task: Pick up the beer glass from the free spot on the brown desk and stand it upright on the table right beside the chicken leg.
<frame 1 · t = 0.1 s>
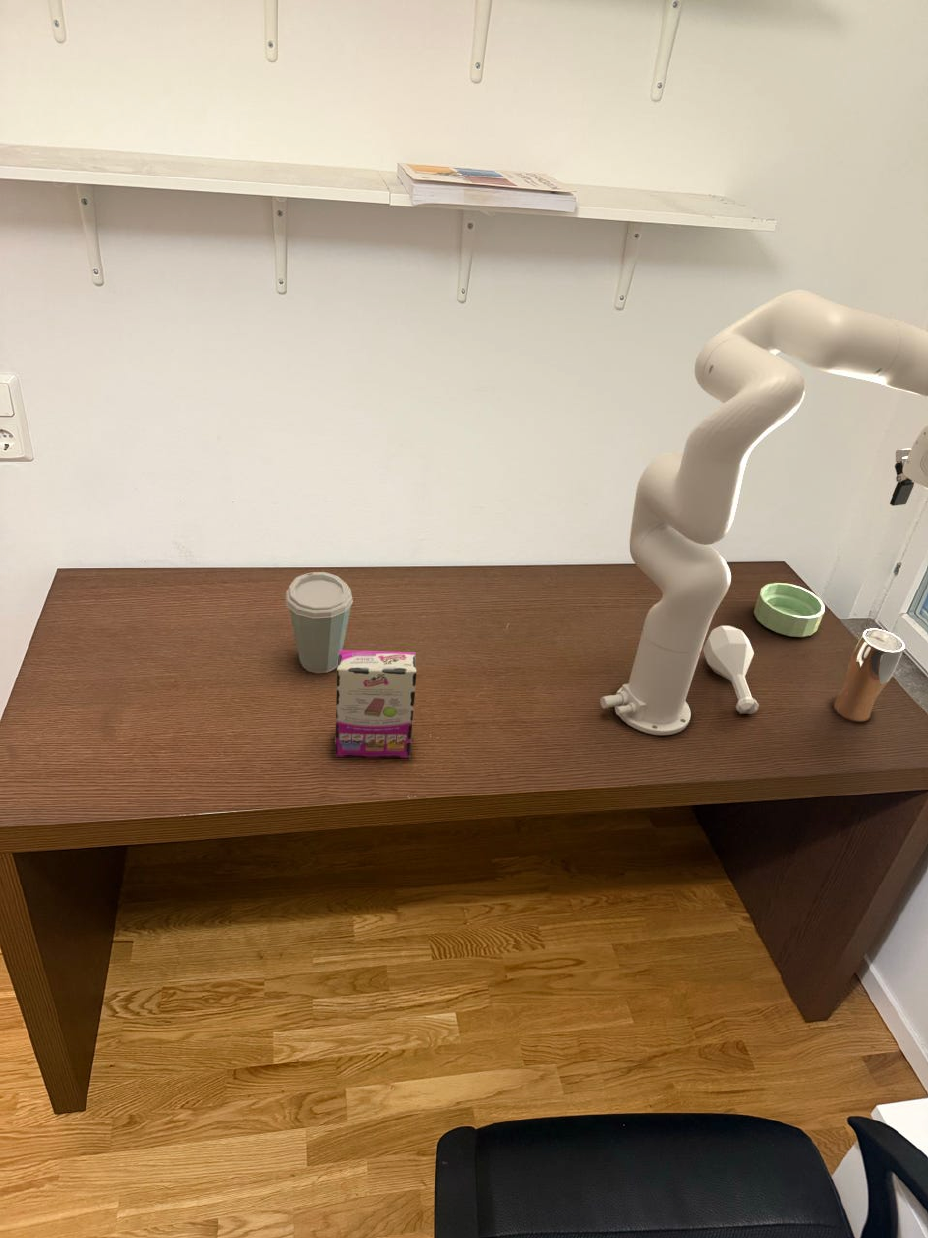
hand: (919, 517, 150), 31 cm above the table, tool pointing down, fingers open, 9 cm apart
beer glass: (851, 711, 157), on the table
candy bar box: (371, 748, 136), on the table
sage bowl: (784, 621, 179), on the table
chicken leg: (730, 686, 159), on the table
disposable coffee cup: (318, 663, 152), on the table
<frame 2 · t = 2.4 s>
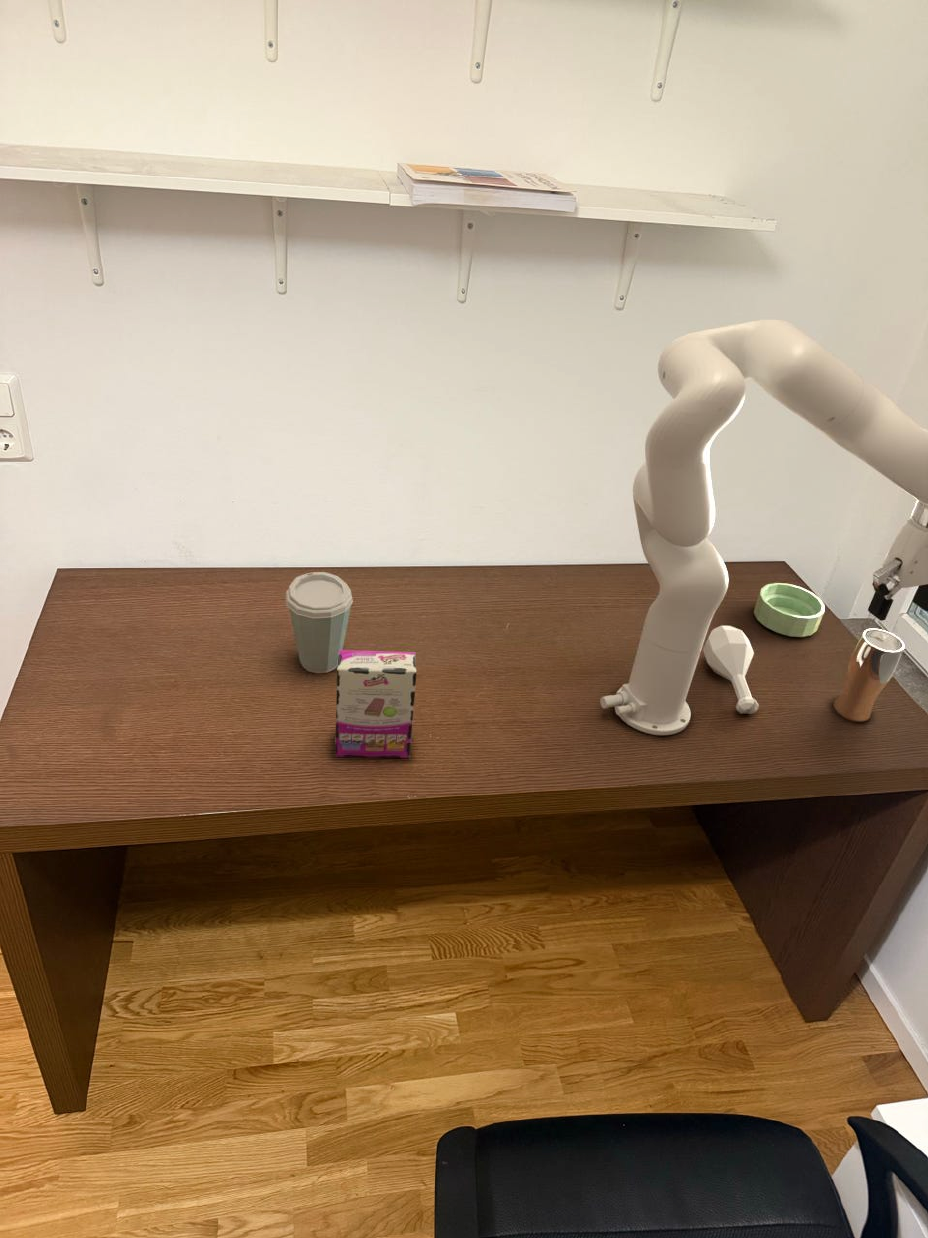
hand: (898, 611, 145), 21 cm above the table, tool pointing down, fingers open, 9 cm apart
nothing on the table moved.
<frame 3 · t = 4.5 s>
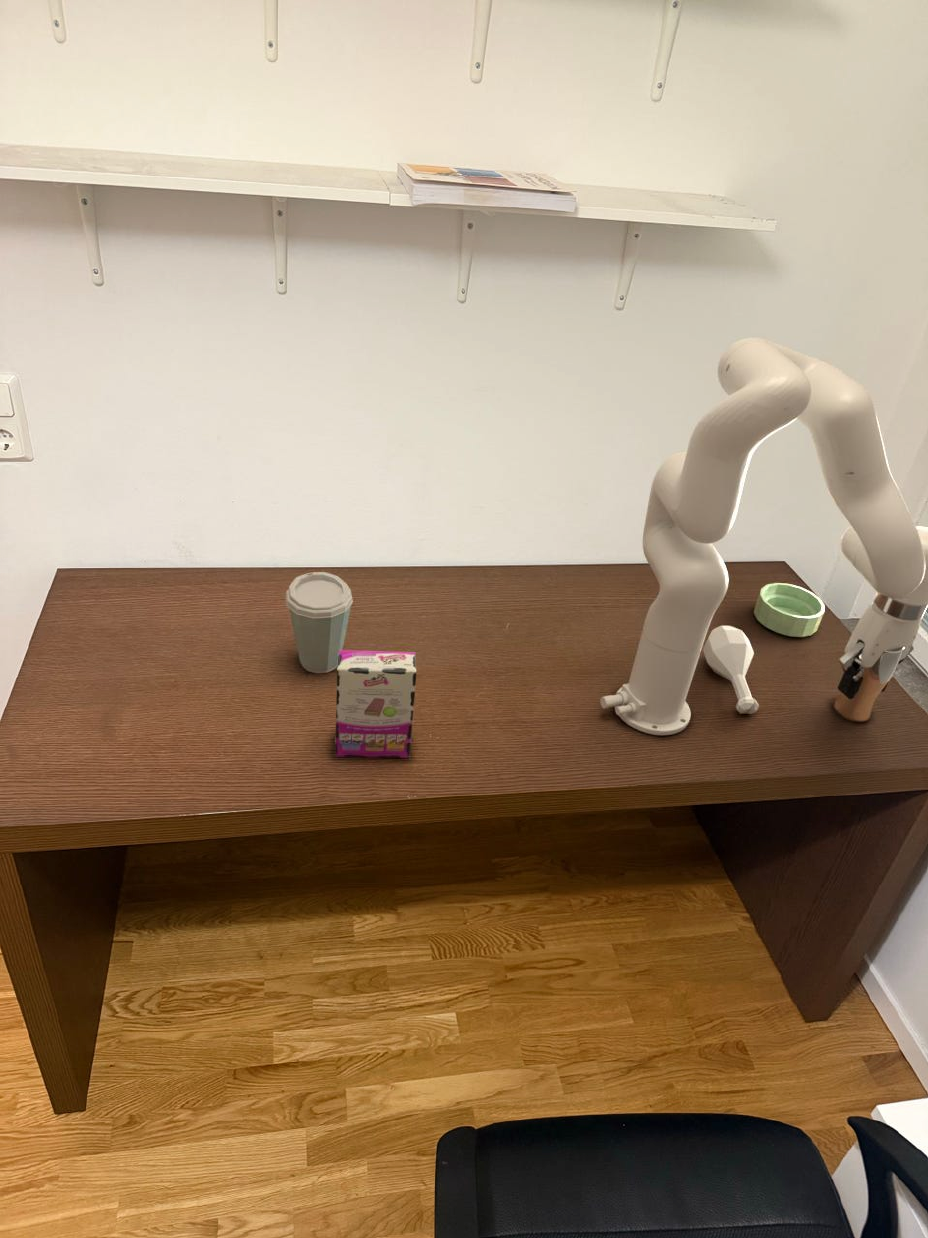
hand: (860, 689, 154), 5 cm above the table, tool pointing down, fingers closed on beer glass, 6 cm apart
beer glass: (851, 711, 157), on the table, touching gripper
everything else where it was.
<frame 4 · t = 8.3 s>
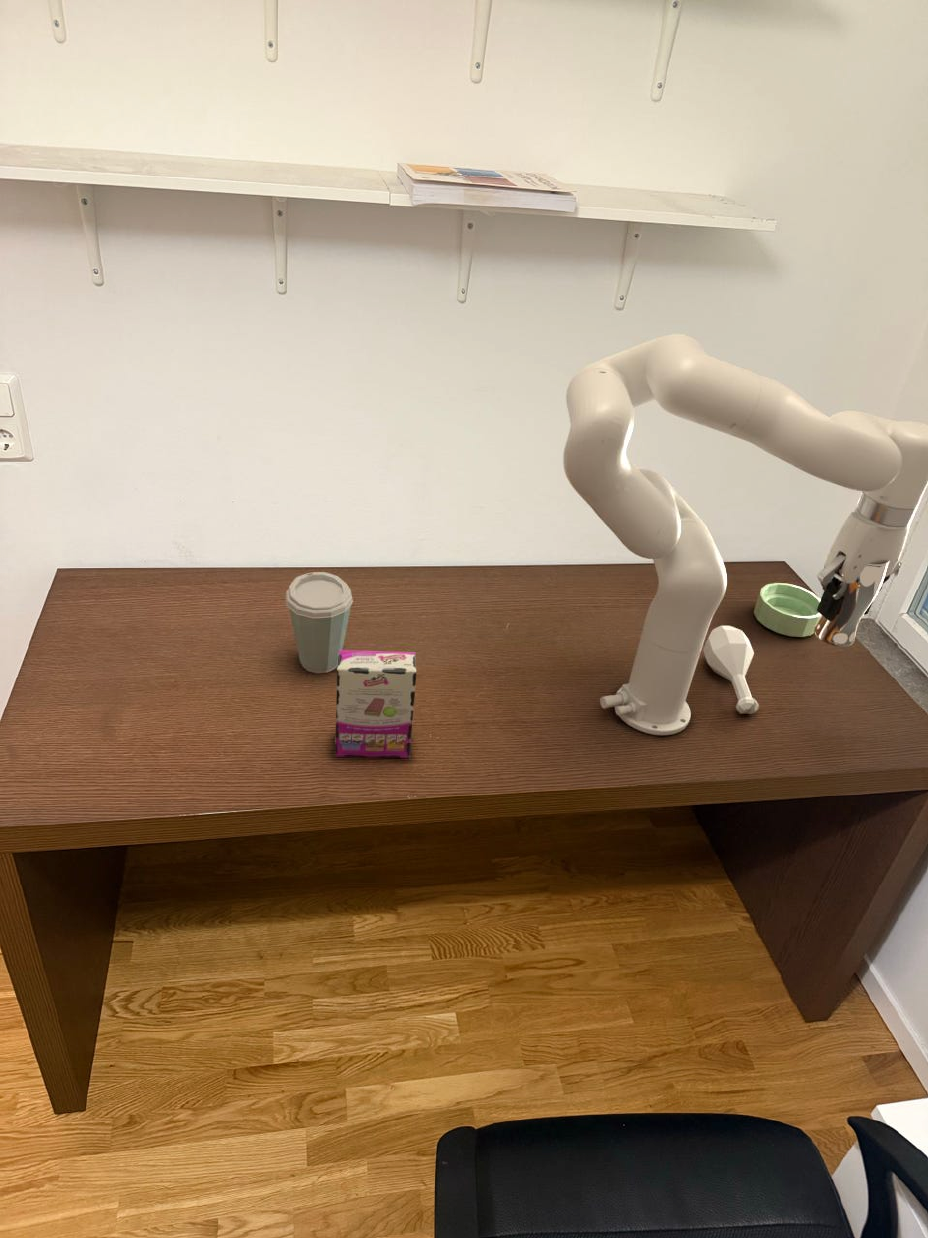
hand: (842, 612, 139), 23 cm above the table, tool pointing down, fingers closed on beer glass, 6 cm apart
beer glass: (833, 636, 142), point 18 cm above the table, touching gripper
everything else where it was.
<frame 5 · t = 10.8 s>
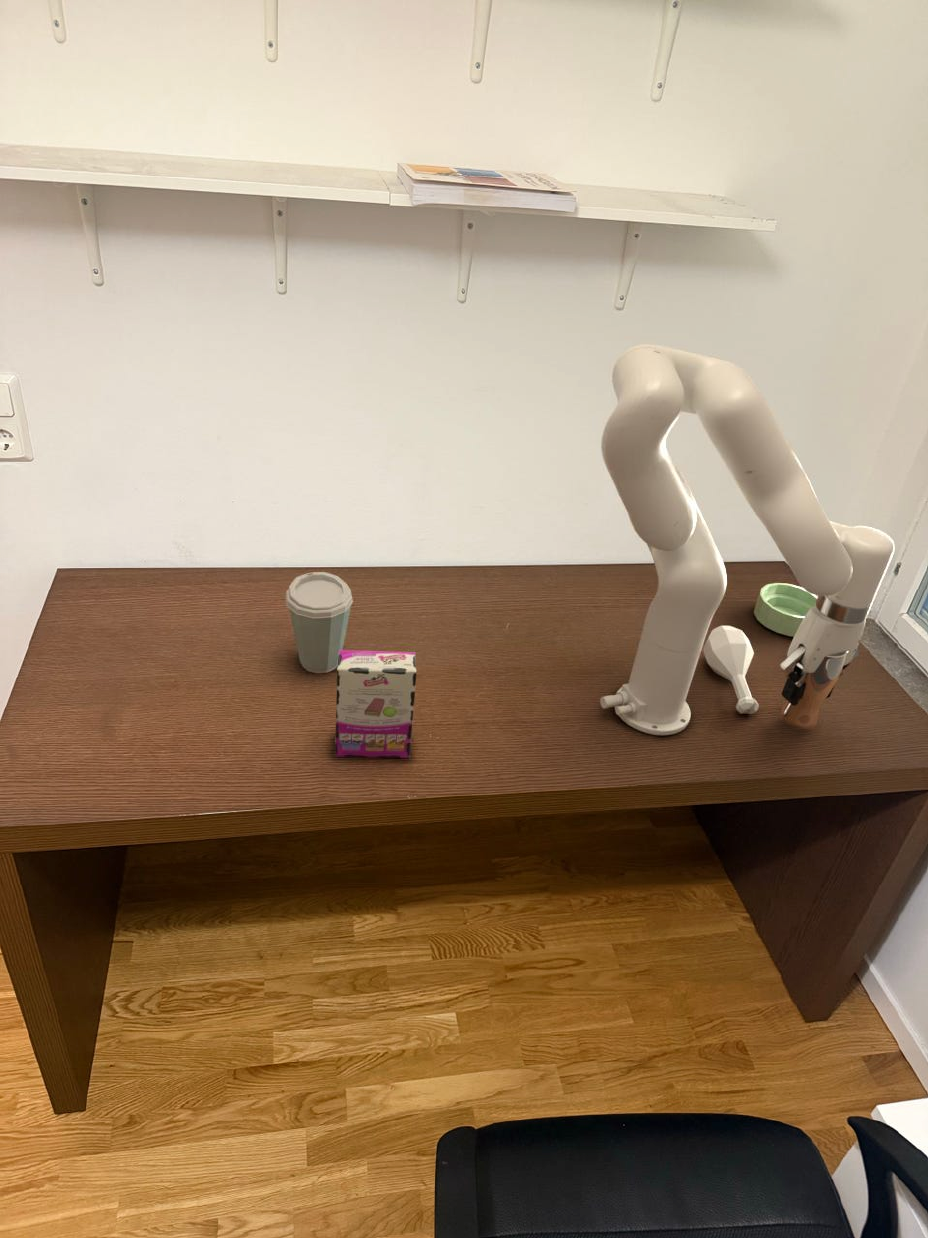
hand: (805, 695, 148), 6 cm above the table, tool pointing down, fingers closed on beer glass, 6 cm apart
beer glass: (798, 717, 151), point 1 cm above the table, touching gripper
everything else where it was.
when the fingers open (5 cm above the table, at t = 11.9 s): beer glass stays where it is, on the table.
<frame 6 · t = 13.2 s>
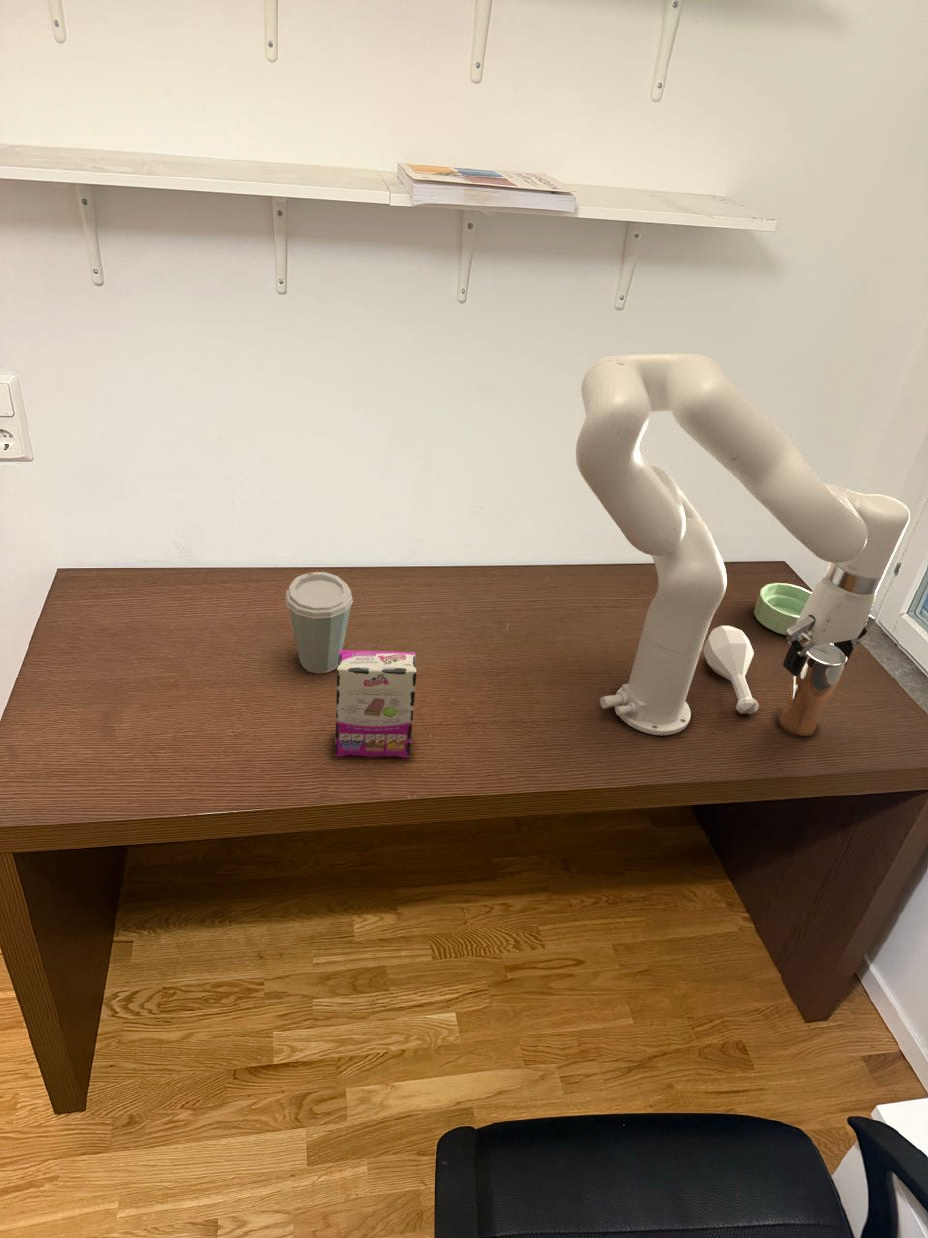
hand: (813, 666, 145), 12 cm above the table, tool pointing down, fingers open, 9 cm apart
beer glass: (796, 725, 152), on the table, touching gripper
everything else where it was.
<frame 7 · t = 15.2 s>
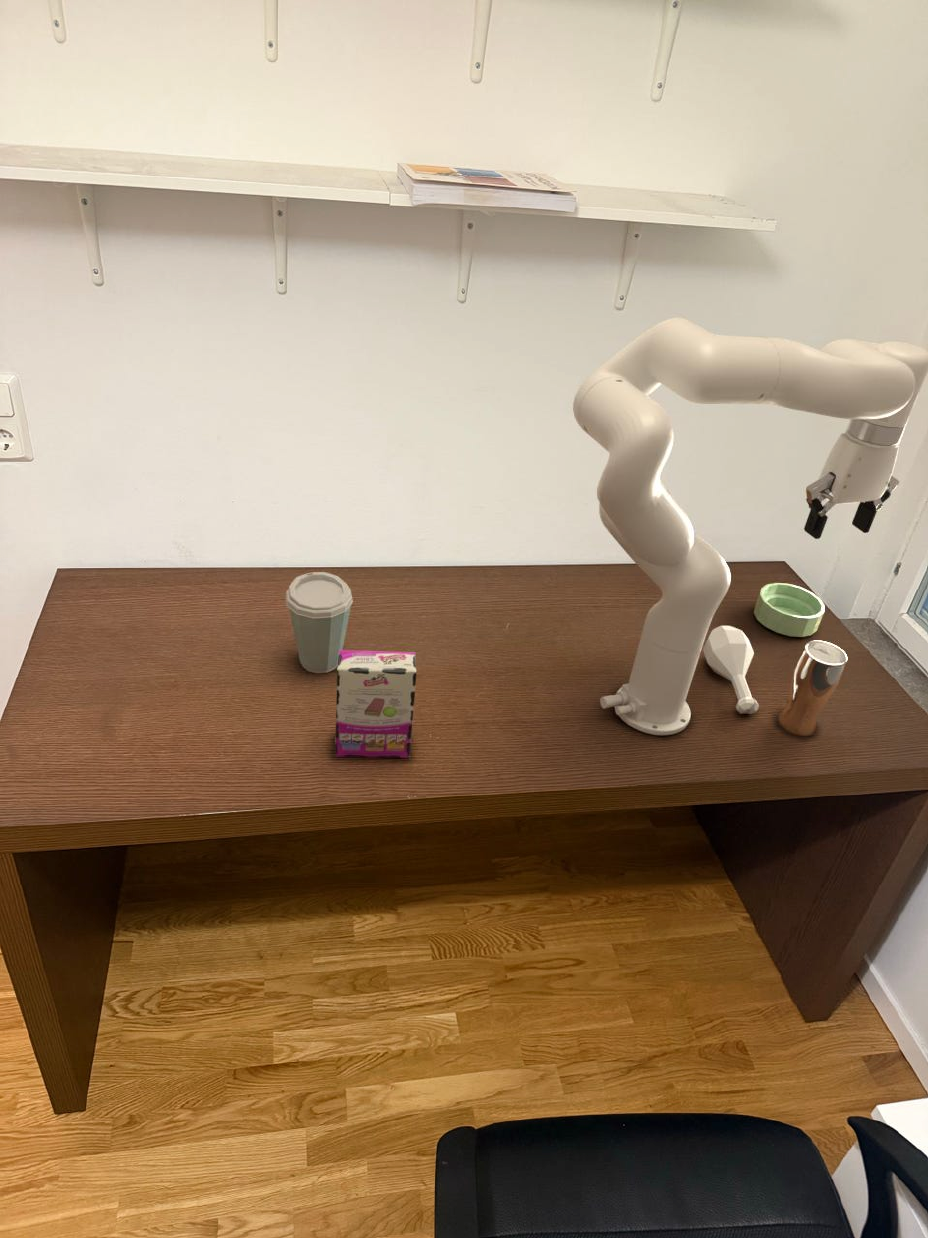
hand: (835, 531, 143), 31 cm above the table, tool pointing down, fingers open, 9 cm apart
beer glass: (796, 725, 152), on the table
everything else where it was.
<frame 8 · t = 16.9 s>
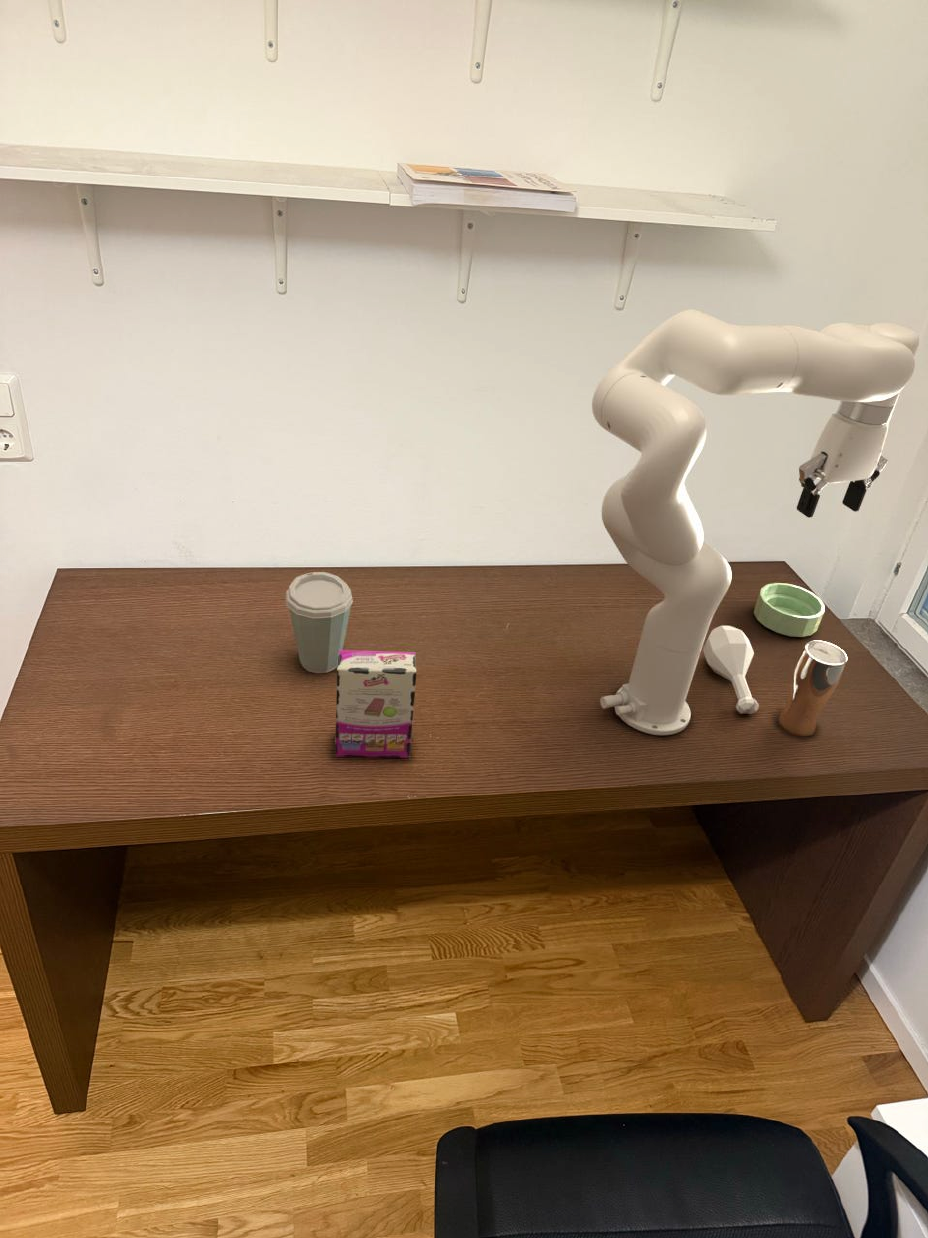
hand: (827, 510, 146), 32 cm above the table, tool pointing down, fingers open, 9 cm apart
nothing on the table moved.
at the end: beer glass 12.9 cm from the chicken leg (horizontally); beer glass tilted 0°; chicken leg moved 0.2 cm from its start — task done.
